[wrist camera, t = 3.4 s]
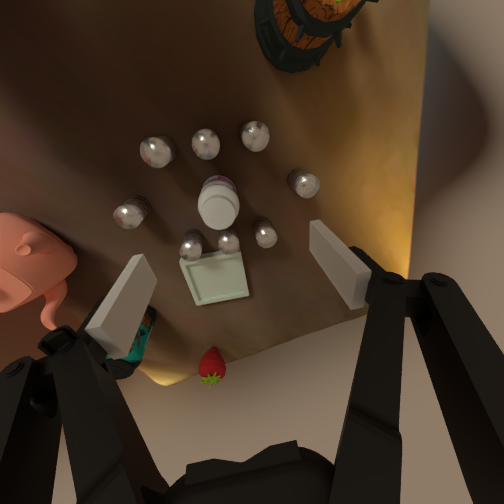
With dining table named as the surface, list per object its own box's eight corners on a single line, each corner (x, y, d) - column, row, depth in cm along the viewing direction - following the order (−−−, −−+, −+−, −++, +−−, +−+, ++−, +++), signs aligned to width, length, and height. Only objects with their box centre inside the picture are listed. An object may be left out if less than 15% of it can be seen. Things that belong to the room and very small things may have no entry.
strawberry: (210, 358, 55) (208, 400, 46) (195, 344, 51) (190, 387, 42) (230, 350, 54) (231, 392, 46) (216, 335, 50) (215, 378, 42)
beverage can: (138, 295, 41) (111, 352, 30) (164, 314, 44) (147, 370, 34) (113, 310, 42) (78, 370, 32) (139, 328, 45) (116, 386, 35)
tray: (197, 300, 43) (196, 305, 42) (180, 257, 37) (179, 262, 36) (248, 290, 43) (249, 295, 42) (239, 247, 38) (240, 251, 36)
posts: (151, 253, 36) (142, 270, 32) (98, 145, 27) (76, 149, 22) (306, 225, 37) (317, 238, 33) (307, 112, 28) (323, 109, 23)
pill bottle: (233, 211, 34) (236, 238, 26) (200, 205, 33) (193, 232, 24) (239, 178, 31) (245, 197, 23) (203, 170, 30) (197, 187, 22)
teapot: (-40, 192, 28) (-172, 226, 18) (81, 212, 31) (22, 249, 22) (-2, 276, 35) (-82, 331, 25) (94, 284, 38) (54, 336, 29)
